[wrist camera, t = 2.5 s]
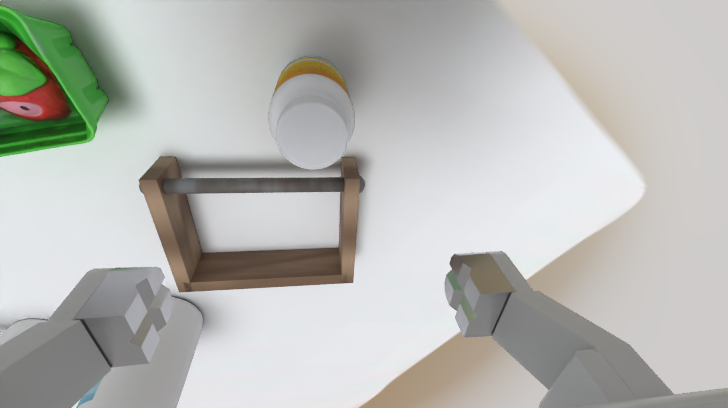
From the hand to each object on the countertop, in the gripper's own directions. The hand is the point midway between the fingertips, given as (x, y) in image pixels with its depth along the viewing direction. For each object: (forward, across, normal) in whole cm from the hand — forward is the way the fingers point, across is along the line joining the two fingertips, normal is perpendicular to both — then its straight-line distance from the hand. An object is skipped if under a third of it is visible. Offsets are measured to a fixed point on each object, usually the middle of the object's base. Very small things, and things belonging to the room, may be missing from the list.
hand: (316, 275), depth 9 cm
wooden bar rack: (+20, +5, +12) cm, 24 cm away
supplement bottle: (+20, 0, 0) cm, 20 cm away
